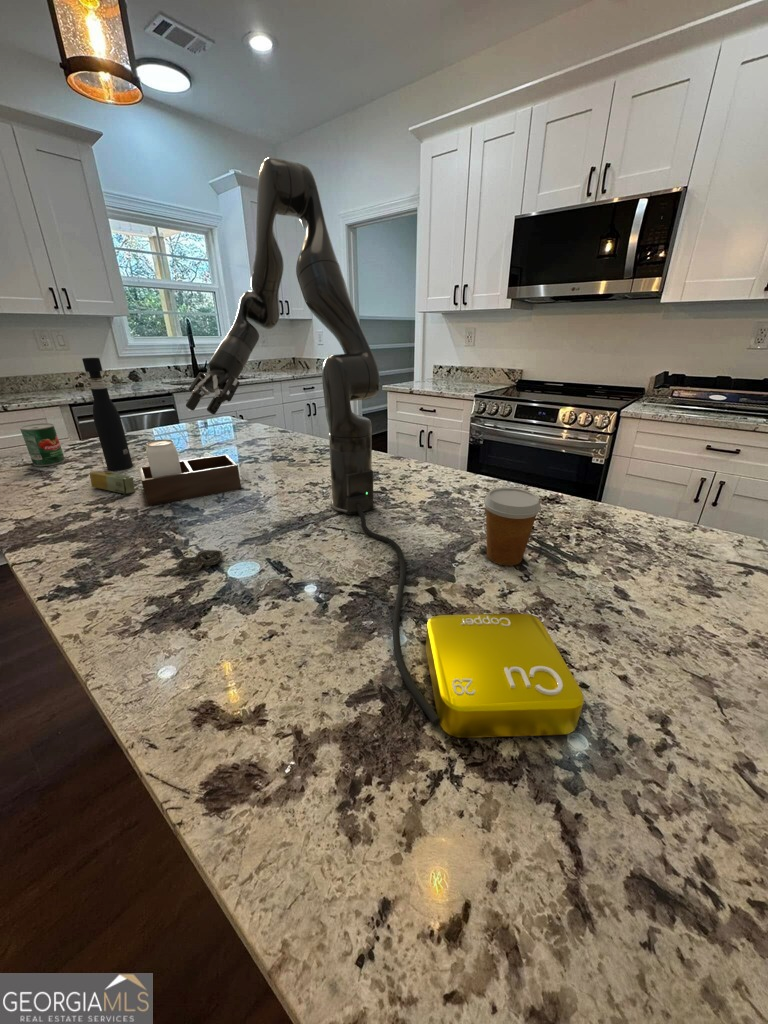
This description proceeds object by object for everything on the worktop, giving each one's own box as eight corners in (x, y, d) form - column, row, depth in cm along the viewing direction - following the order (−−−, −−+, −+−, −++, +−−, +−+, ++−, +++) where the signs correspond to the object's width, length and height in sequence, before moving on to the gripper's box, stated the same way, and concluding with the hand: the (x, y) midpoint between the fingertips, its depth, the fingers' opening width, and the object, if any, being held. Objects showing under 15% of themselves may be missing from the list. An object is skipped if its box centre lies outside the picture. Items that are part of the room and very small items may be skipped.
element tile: (532, 637, 57) (537, 608, 55) (583, 736, 43) (593, 703, 41) (423, 639, 57) (425, 610, 55) (440, 740, 43) (443, 707, 41)
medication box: (136, 491, 105) (133, 476, 103) (126, 494, 102) (124, 478, 101) (100, 484, 108) (98, 469, 107) (90, 487, 106) (87, 471, 104)
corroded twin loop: (171, 568, 72) (170, 563, 72) (214, 551, 78) (213, 546, 77) (185, 579, 69) (183, 573, 69) (229, 560, 75) (228, 555, 74)
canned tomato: (39, 459, 128) (27, 424, 123) (69, 457, 130) (58, 422, 125) (28, 467, 121) (14, 430, 116) (59, 465, 123) (47, 428, 119)
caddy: (241, 488, 107) (237, 465, 104) (147, 506, 97) (141, 480, 94) (230, 475, 115) (227, 454, 113) (143, 490, 105) (137, 467, 102)
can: (189, 485, 106) (180, 439, 101) (175, 495, 100) (164, 446, 95) (165, 484, 106) (154, 438, 101) (150, 493, 101) (138, 445, 96)
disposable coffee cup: (493, 574, 71) (502, 510, 66) (469, 547, 80) (475, 489, 74) (542, 566, 74) (554, 504, 68) (513, 541, 82) (522, 484, 77)
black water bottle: (109, 465, 123) (78, 357, 111) (133, 462, 126) (106, 356, 113) (106, 471, 118) (73, 359, 105) (132, 468, 120) (103, 358, 108)
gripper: (202, 347, 109) (170, 398, 105) (239, 349, 102) (206, 404, 98) (222, 367, 115) (193, 416, 111) (258, 370, 108) (228, 422, 104)
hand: (199, 410), depth 104 cm, fingers open, 8 cm apart
